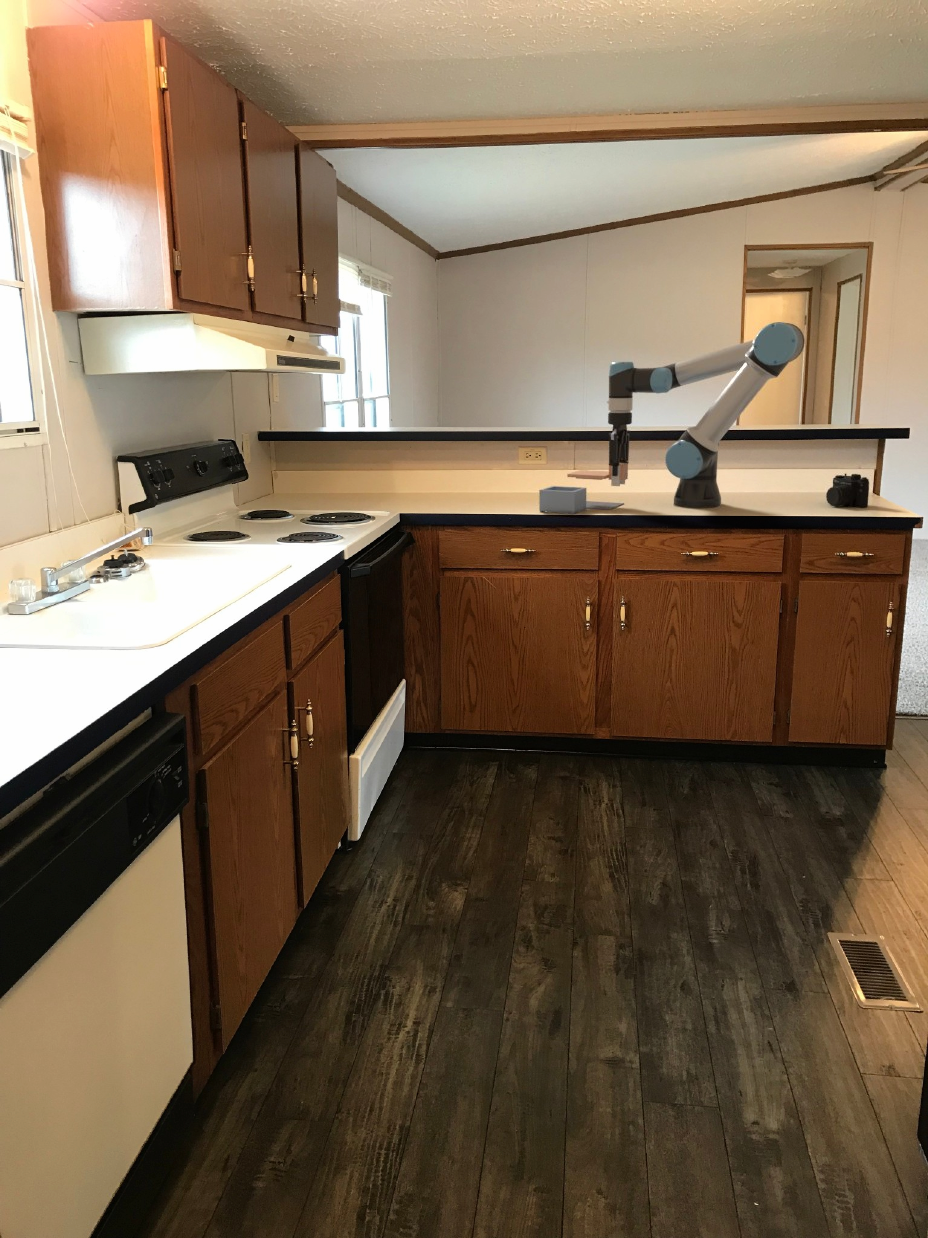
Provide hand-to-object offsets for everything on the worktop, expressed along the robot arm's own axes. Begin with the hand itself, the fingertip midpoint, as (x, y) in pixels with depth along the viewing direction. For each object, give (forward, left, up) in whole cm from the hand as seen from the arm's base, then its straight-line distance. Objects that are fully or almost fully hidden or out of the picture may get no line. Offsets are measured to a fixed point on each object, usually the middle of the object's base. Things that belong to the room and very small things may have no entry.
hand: (618, 484), depth 322 cm
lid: (+7, 0, +2) cm, 7 cm away
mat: (+9, 0, -7) cm, 11 cm away
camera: (-65, -29, -8) cm, 71 cm away
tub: (+14, +13, -7) cm, 20 cm away
